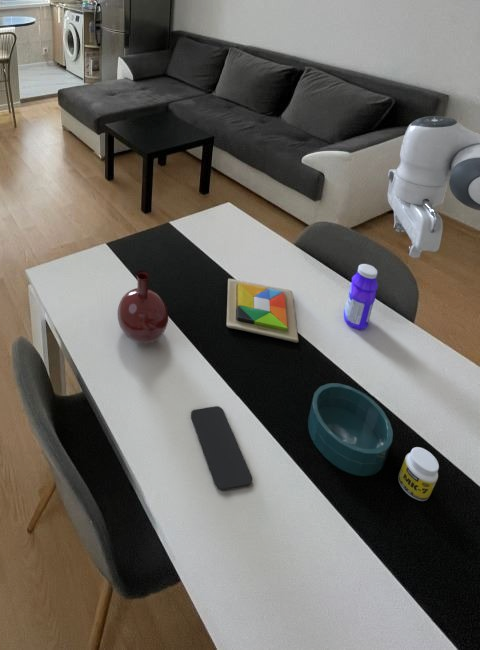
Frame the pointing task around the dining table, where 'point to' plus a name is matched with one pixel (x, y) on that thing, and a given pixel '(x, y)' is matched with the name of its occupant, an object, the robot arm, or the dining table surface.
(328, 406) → the teal bowl
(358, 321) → the bottle
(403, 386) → the dining table surface
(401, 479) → the supplement bottle
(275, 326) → the wooden puzzle
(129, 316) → the round-bottom flask
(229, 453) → the phone
